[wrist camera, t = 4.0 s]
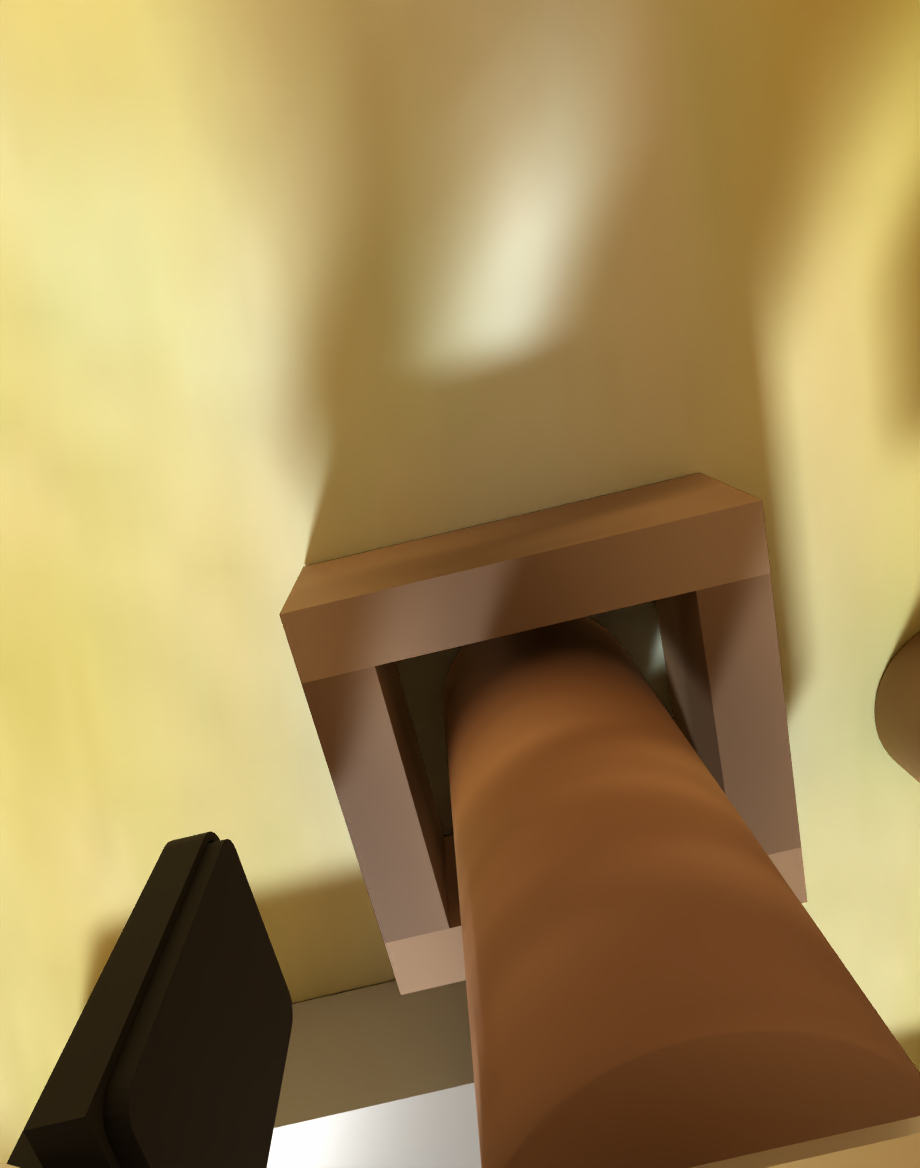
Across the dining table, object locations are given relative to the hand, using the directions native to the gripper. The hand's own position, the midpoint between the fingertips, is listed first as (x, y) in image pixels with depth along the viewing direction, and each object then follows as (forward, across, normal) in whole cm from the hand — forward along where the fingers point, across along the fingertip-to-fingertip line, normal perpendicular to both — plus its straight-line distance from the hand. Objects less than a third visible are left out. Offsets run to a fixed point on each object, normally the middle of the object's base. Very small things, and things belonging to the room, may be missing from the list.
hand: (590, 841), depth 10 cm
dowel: (+4, 0, 0) cm, 4 cm away
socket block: (+4, 0, 0) cm, 4 cm away
